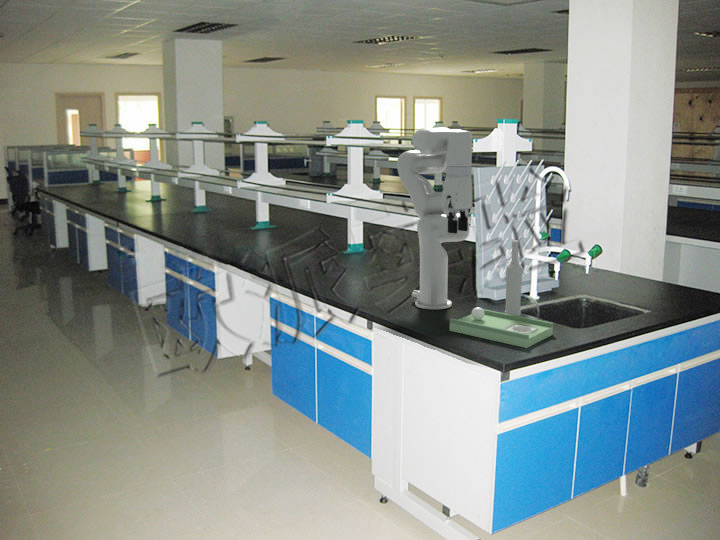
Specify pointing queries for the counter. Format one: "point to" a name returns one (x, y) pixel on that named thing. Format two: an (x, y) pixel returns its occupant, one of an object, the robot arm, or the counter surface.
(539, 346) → the counter surface
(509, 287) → the bottle
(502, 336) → the putting mat
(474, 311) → the ball
